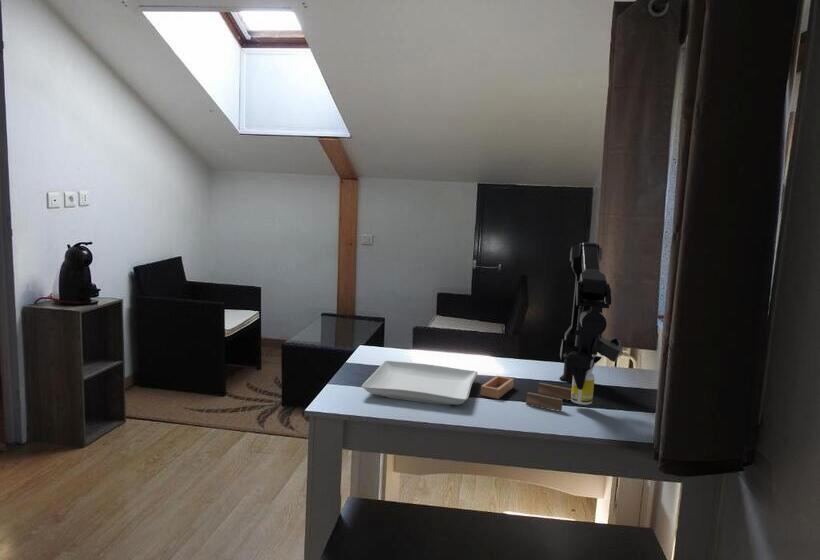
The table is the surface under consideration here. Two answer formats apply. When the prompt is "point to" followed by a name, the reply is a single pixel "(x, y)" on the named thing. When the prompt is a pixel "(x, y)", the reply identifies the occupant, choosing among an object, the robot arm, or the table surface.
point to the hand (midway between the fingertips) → (582, 386)
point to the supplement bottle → (583, 390)
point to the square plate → (421, 382)
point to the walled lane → (547, 400)
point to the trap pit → (497, 387)
